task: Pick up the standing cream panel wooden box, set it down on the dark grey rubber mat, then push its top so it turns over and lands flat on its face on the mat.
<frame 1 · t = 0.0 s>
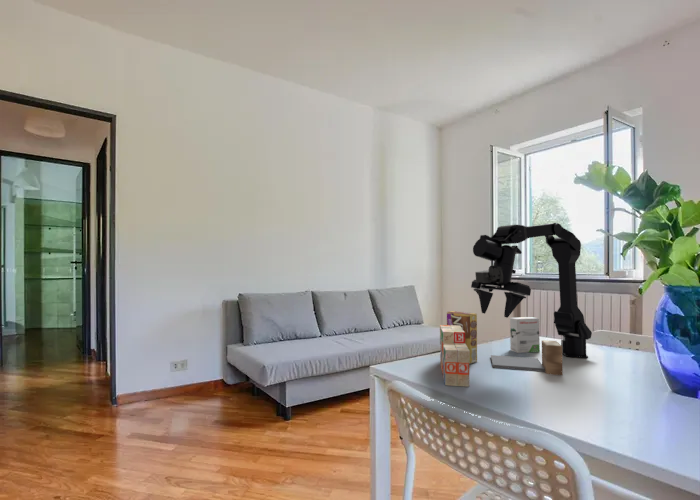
hand: (494, 315, 115), 15 cm above the table, tool pointing down, fingers open, 9 cm apart
candy box: (462, 360, 122), on the table
rubber mat: (516, 364, 117), on the table
ink box: (524, 351, 134), on the table
cream panel wooden box: (551, 371, 110), on the table
stack of blocks: (453, 375, 107), on the table
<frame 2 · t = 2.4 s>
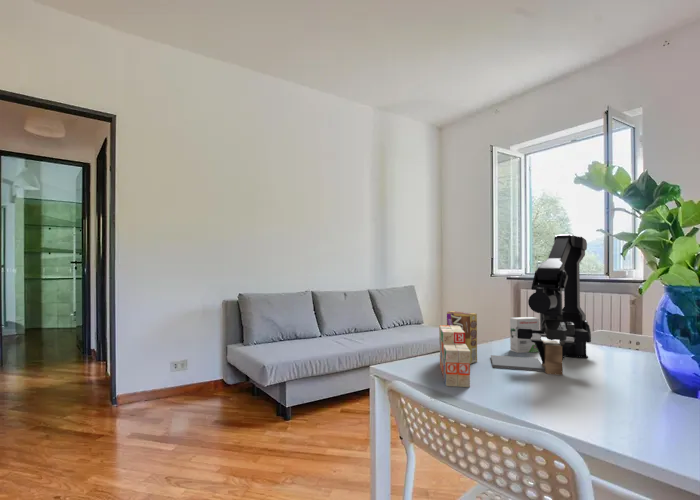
hand: (551, 363, 110), 2 cm above the table, tool pointing down, fingers closed on cream panel wooden box, 4 cm apart
cream panel wooden box: (551, 371, 110), on the table, touching gripper
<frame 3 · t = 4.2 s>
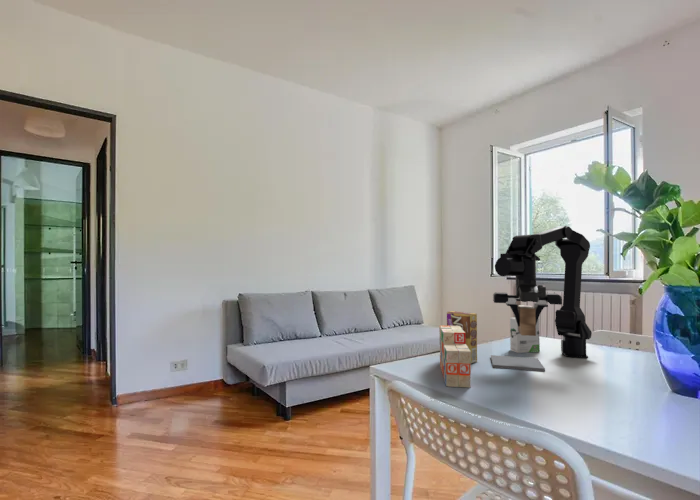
hand: (526, 326, 117), 12 cm above the table, tool pointing down, fingers closed on cream panel wooden box, 4 cm apart
cream panel wooden box: (526, 333, 117), point 10 cm above the table, touching gripper
when the fingers open (4 cm above the table, at t = 5.9 s): cream panel wooden box stays where it is, resting on rubber mat.
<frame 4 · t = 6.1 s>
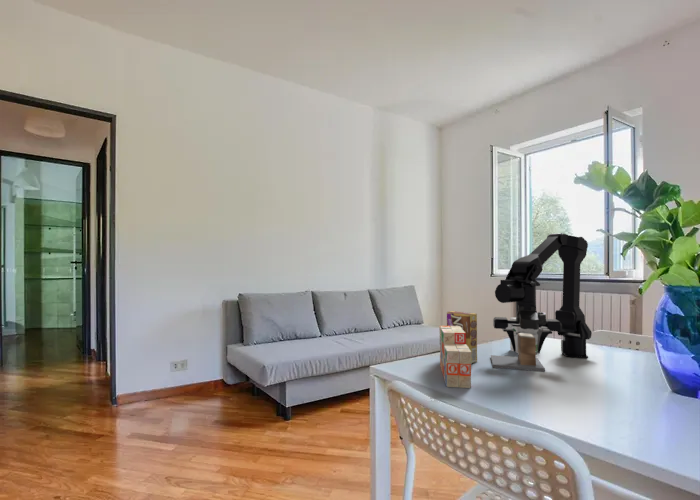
hand: (526, 352, 117), 4 cm above the table, tool pointing down, fingers open, 6 cm apart
cream panel wooden box: (526, 362, 116), point 1 cm above the table, touching rubber mat
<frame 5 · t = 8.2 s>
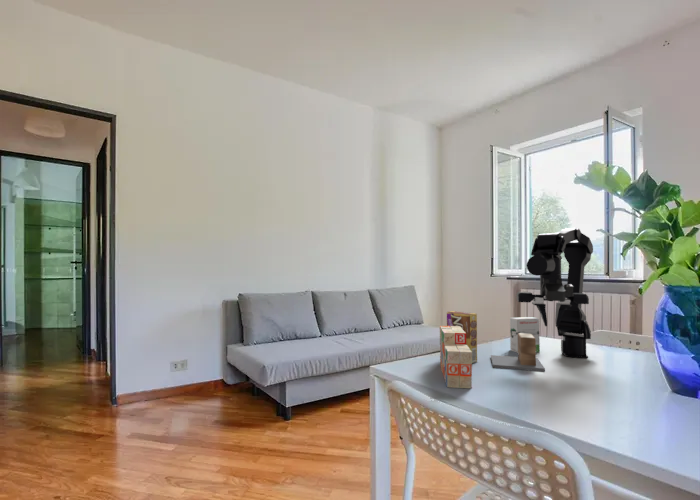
hand: (551, 326, 115), 12 cm above the table, tool pointing down, fingers open, 3 cm apart
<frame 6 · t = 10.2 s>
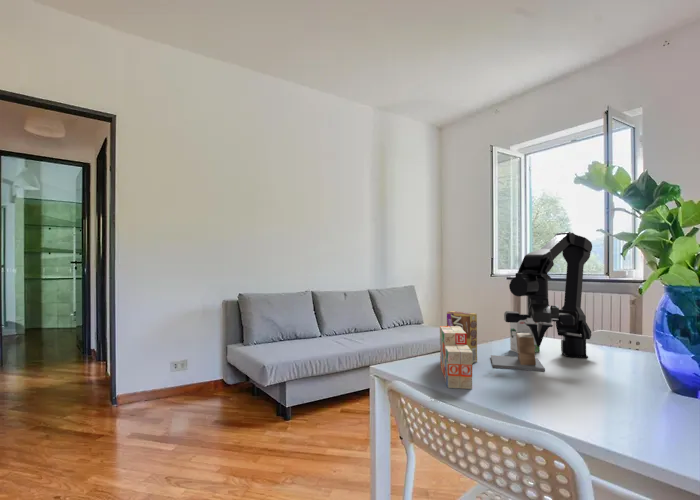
hand: (538, 346, 116), 6 cm above the table, tool pointing down, fingers closed
cream panel wooden box: (526, 361, 116), point 1 cm above the table, touching gripper, rubber mat
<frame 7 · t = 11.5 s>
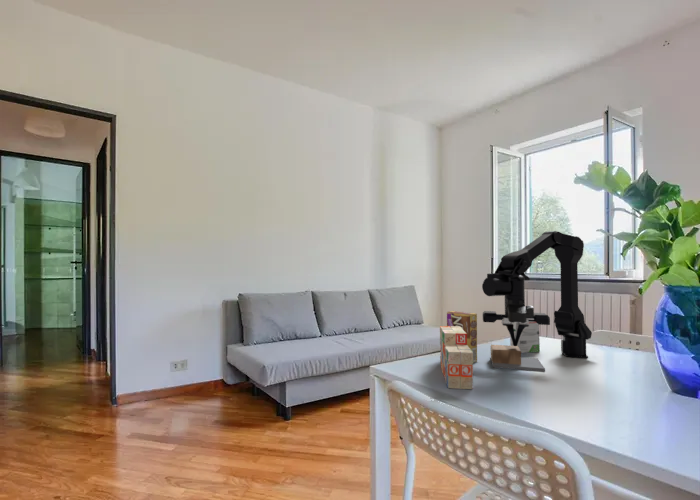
hand: (515, 345, 117), 6 cm above the table, tool pointing down, fingers closed
cream panel wooden box: (519, 355, 117), point 3 cm above the table, tilted 90°, touching rubber mat
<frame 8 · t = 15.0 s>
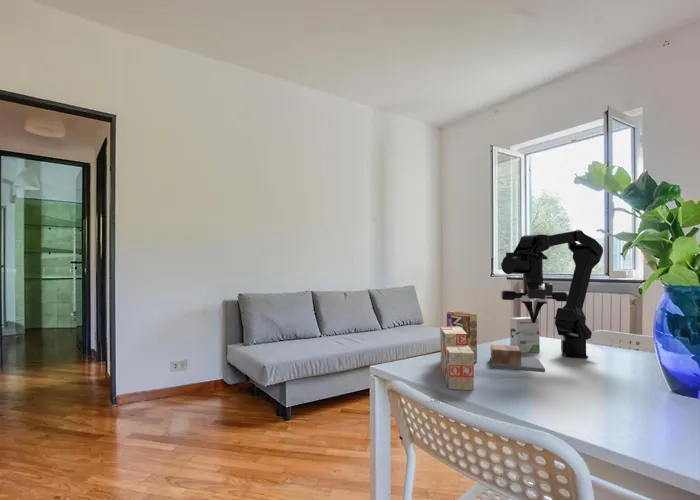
hand: (533, 322, 122), 12 cm above the table, tool pointing down, fingers closed
at the end: cream panel wooden box tilted 90°; cream panel wooden box inside the target area (2.5 cm from its centre), point 2.8 cm above the table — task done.
